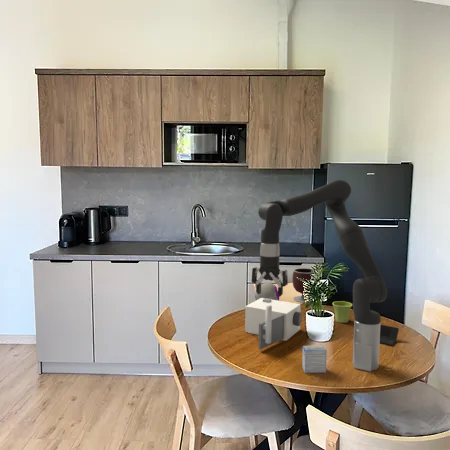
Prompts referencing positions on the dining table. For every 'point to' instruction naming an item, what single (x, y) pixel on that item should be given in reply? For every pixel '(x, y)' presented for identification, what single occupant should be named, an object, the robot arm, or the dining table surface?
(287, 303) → the cabinet housing
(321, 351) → the medicine box
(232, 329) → the dining table surface
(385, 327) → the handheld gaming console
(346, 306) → the plant pot
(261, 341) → the side door
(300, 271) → the mate gourd
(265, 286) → the grey rounded dome
